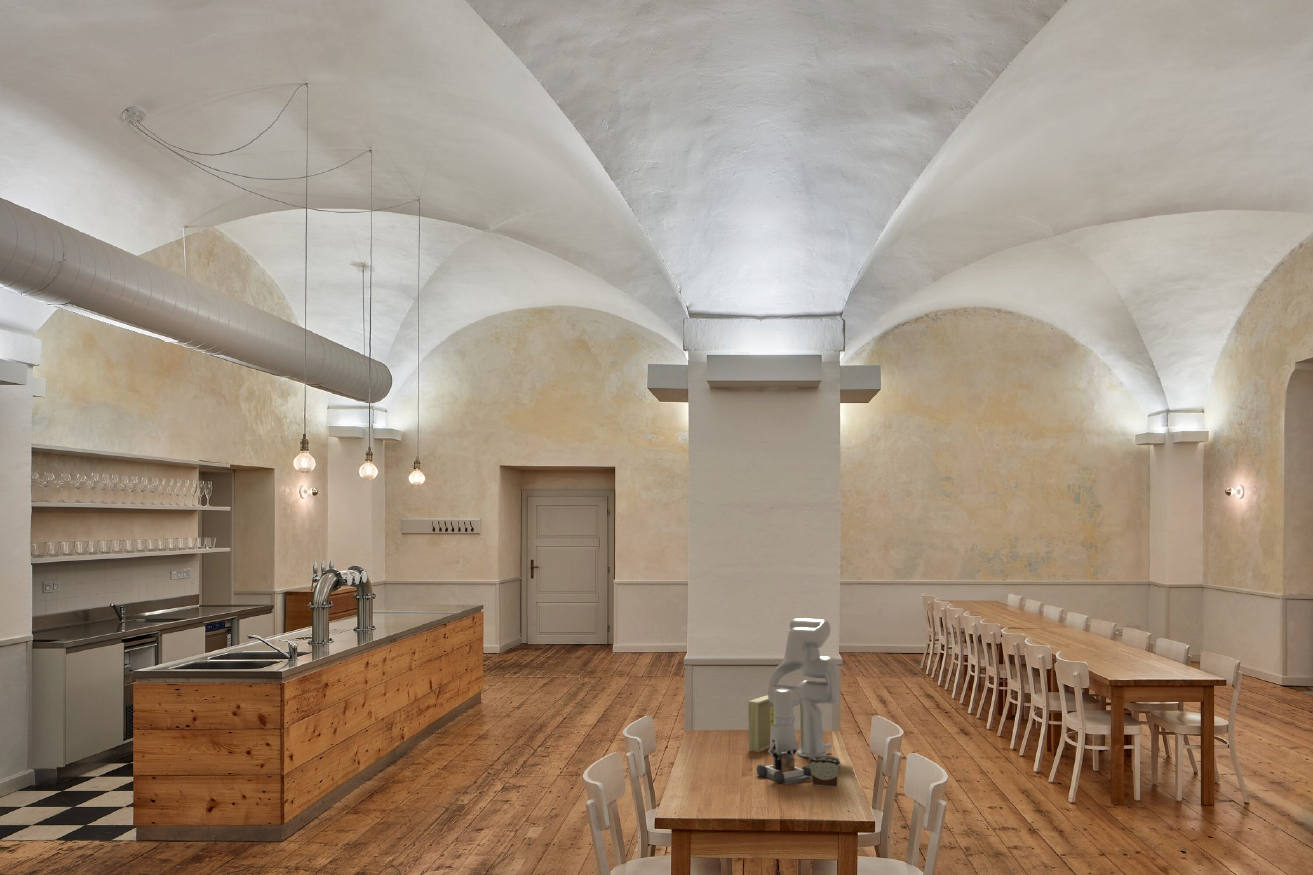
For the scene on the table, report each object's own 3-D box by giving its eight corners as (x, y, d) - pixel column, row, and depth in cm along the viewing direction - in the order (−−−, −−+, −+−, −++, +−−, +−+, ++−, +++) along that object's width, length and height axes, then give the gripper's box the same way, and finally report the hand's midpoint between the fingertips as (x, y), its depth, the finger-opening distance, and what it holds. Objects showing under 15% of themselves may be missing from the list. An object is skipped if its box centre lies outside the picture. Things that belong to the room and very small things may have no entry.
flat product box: (785, 736, 438) (784, 689, 440) (794, 738, 435) (793, 690, 437) (748, 750, 409) (748, 700, 411) (757, 752, 406) (757, 701, 409)
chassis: (784, 769, 377) (784, 758, 377) (813, 779, 361) (813, 768, 362) (754, 774, 369) (754, 763, 369) (783, 785, 354) (783, 773, 354)
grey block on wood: (783, 767, 370) (783, 751, 370) (794, 771, 364) (794, 755, 364) (773, 768, 367) (773, 753, 368) (784, 772, 361) (784, 756, 362)
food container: (843, 783, 356) (842, 756, 357) (841, 787, 351) (840, 760, 352) (811, 780, 360) (810, 754, 361) (808, 784, 355) (808, 757, 356)
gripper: (794, 717, 375) (794, 763, 373) (760, 721, 366) (760, 769, 364) (806, 720, 368) (806, 767, 367) (772, 725, 360) (772, 773, 358)
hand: (783, 767), depth 366 cm, fingers closed on grey block on wood, 4 cm apart
